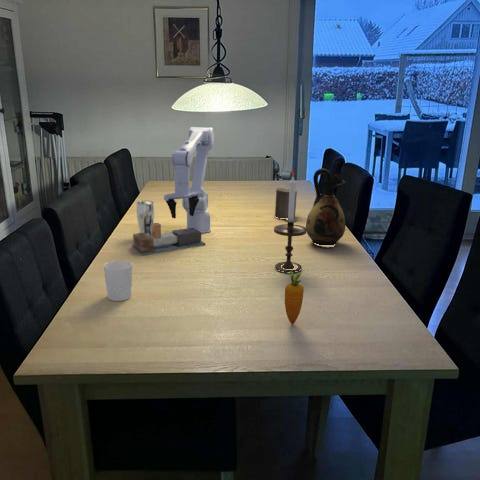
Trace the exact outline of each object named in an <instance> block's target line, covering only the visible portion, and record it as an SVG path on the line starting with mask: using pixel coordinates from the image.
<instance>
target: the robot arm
mask: <svg viewBox="0 0 480 480" xmlns="http://www.w3.org/2000/svg"><path fill="white" fill-rule="evenodd" d="M214 143H215V129H214V128H213V127H198V126H195V127H194V126H191V127H190V128H189V129H188V140H185V141H184V142H183V143H182V144H181V146H180V147H179V148H178V150H176V149H175V151H173V153H172V154H171V164H172V169H173V171H174V192H173V193H168V194H164V195H163V200H164V201H165V202H166V204H167V206H168V209H169V211H170V216H171V218H172V219H176V216H177V213H176V210H177V208H176V207H177V201H176V200H180V199H181V200H182V201H181V202H182V203H181V204H182V208H183V209H184V210H185V212H186V228H185V229H187V228H195V229H196V230H198V231H200V232H201V234H204V233H211V232H212V230H211V215H210V212H209V210H208V208H209V194H208V192H207V191H206V190H205V189H204V181H205V177H206V171H207V163H208V156H209V152H210V151H211V150H213V148H214ZM195 153H196V155H195V162H194V166H193V167H194V168H193V175H192V182H190V181H191V175H190V171H191V170H190V169H191V168H190V167H191V165H192V163H193V159H194V158H193V156H194V154H195ZM190 185H191V186H190Z"/></svg>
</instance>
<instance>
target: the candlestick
mask: <svg viewBox="0 0 480 480" xmlns="http://www.w3.org/2000/svg"><path fill="white" fill-rule="evenodd" d="M290 173H291V179H290V181H289V188H290V190H289V210H288V220H284V222H286V223H285V224H283V223H282V224H278V225H275V226H274V228H273V232H274V233H276V234H277V235H281V236H285V237H287V246H285V247H284V249H285V251H286V253H285V256H286V260H285V261H280V262H278V263H275V265H274V269H275V268H276V269H277V270H280V271H284V272H290V271H292V272H295V271H299V270H300V269H301V270H302V265H301V264H300V263H297V262H292V260H291V259H292V257H293V253H292V252H293V250H294V247H293V246H292V241H293V240H292V239H293V237H300V236H304V235H306V234H307V229H306V226H302V225H300V224H295V223H297V220H296V219H294V203H295V189H296V183H297V181H295V177H294V176H295V173H294V169H293V168H291V172H290ZM283 264H284V265H283ZM293 264H295V265H297V266H298V268H297V269H296V270H286V269H293V268H294V266H293ZM281 265H283V266H282V268H281ZM283 268H284V269H283ZM276 269H275V270H276ZM277 270H276V271H277Z"/></svg>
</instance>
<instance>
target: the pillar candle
mask: <svg viewBox="0 0 480 480" xmlns="http://www.w3.org/2000/svg"><path fill="white" fill-rule="evenodd" d="M275 190H276V191H275V192H276V193H275V209H274V217H275V216H276V217H278V218H288V210H289V190H290V187H288V186H286V187H277V188H276V189H275ZM297 193H298V189H296V188H295V203H294V217H295V218H296V210H297V197H298V196H297V195H298V194H297Z"/></svg>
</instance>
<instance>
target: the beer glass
mask: <svg viewBox="0 0 480 480" xmlns="http://www.w3.org/2000/svg"><path fill="white" fill-rule="evenodd" d="M136 218H137V223H138V224H137V225H138V229H139V233H146V234H147V235H149V236H152V227H151V223H155V204H154V201H152V200H138V201H137V202H136Z"/></svg>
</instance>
